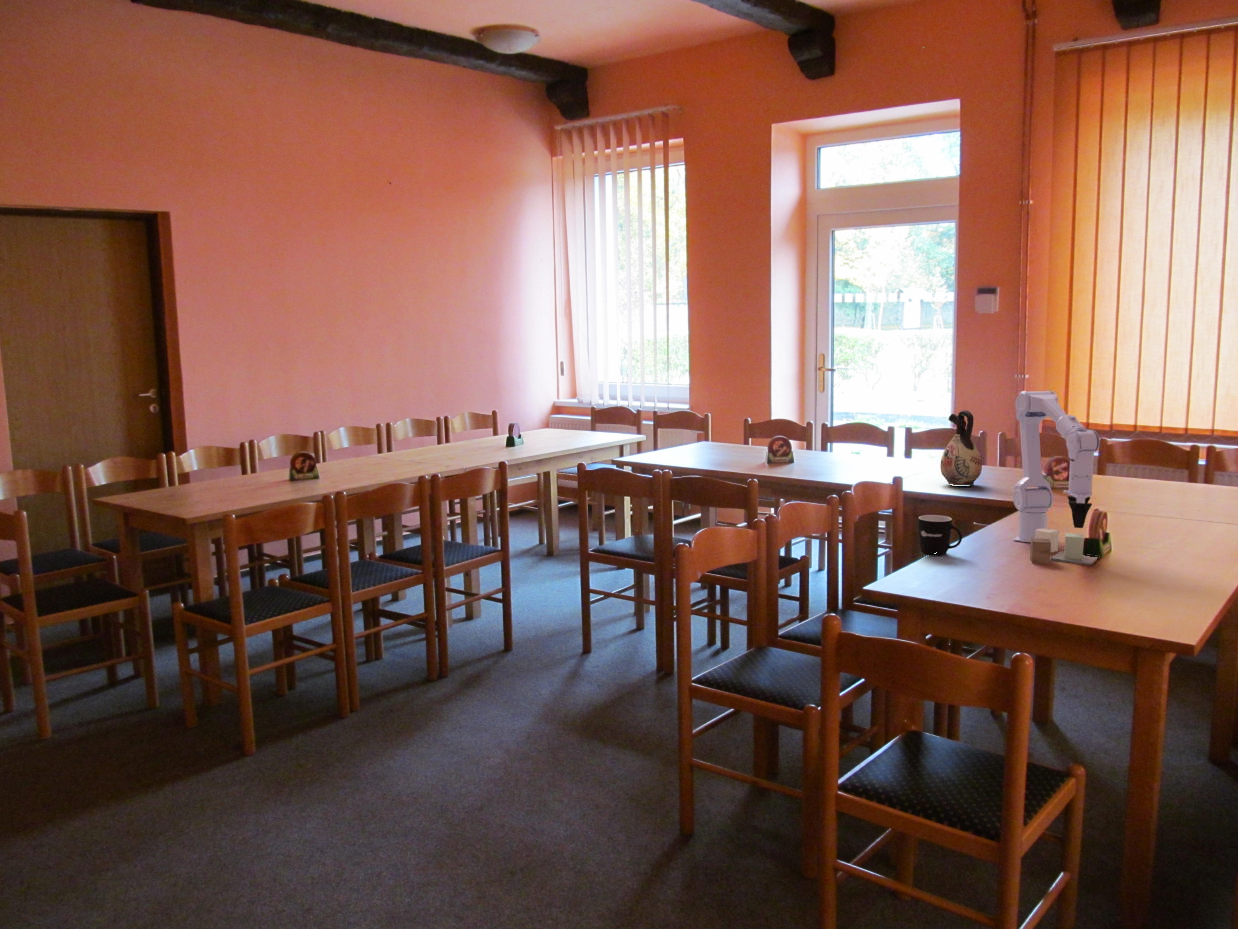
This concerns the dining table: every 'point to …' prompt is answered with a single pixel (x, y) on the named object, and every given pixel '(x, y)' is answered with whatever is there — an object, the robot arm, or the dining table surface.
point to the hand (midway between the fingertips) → (1077, 524)
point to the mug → (936, 534)
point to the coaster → (1086, 559)
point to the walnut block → (1040, 550)
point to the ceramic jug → (961, 453)
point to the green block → (1074, 546)
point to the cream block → (1049, 536)
